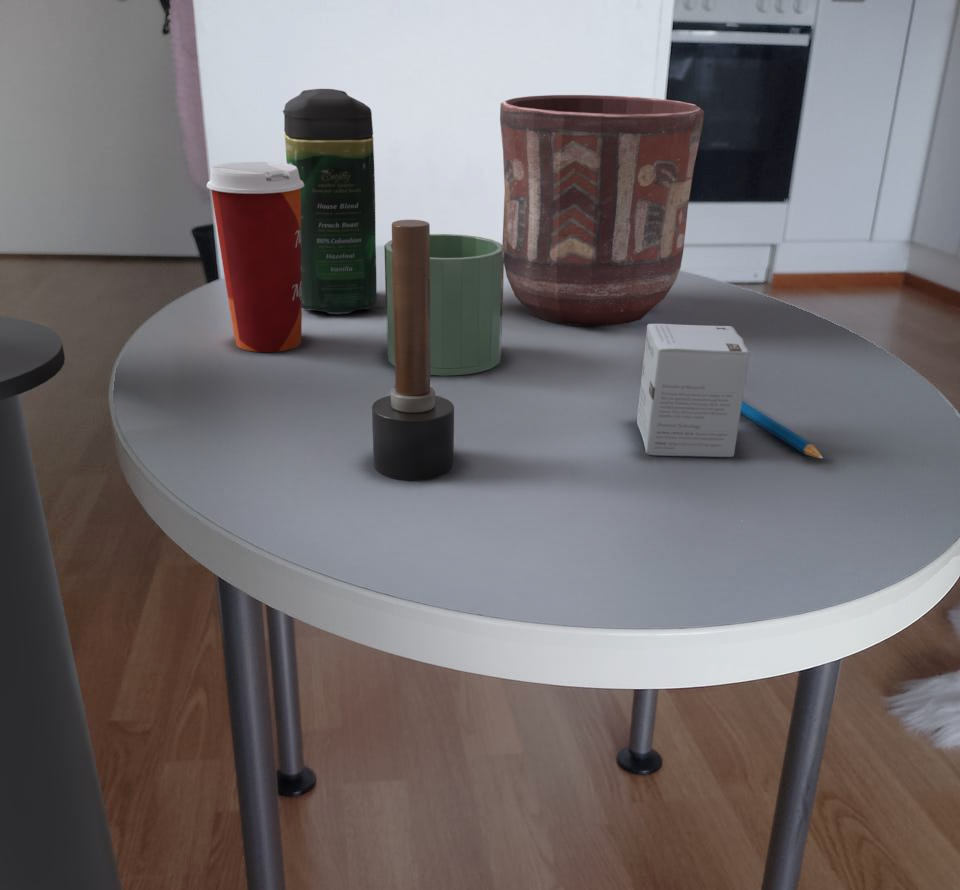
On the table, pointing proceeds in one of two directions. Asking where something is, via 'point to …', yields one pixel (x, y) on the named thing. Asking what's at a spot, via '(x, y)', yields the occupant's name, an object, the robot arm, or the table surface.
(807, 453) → the pencil
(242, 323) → the paper cup
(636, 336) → the table surface
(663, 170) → the pottery
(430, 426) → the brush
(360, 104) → the coffee jar
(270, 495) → the table surface
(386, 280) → the jar
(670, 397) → the white cardboard box
